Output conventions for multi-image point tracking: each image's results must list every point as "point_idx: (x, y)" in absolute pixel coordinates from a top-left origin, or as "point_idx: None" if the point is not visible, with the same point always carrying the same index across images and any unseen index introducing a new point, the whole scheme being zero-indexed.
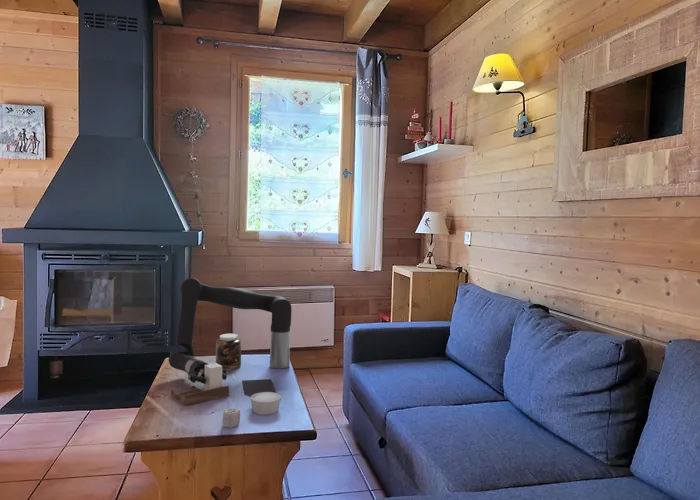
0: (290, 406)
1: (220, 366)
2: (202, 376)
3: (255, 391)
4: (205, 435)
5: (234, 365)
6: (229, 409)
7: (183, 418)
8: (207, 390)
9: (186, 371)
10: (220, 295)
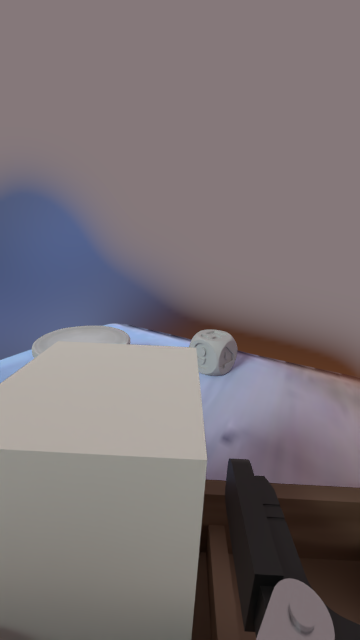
0: (22, 365)
1: (78, 342)
2: (249, 537)
3: None
4: (279, 363)
5: None
6: (214, 340)
7: (352, 451)
8: (220, 487)
9: None
10: None
